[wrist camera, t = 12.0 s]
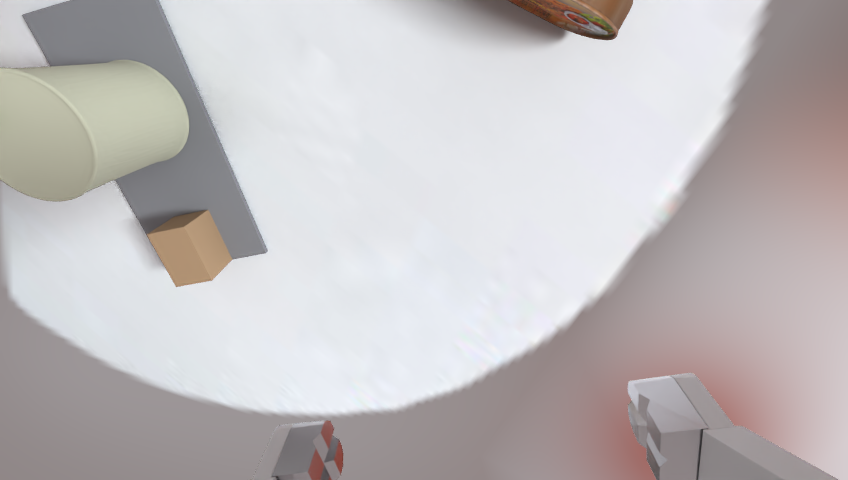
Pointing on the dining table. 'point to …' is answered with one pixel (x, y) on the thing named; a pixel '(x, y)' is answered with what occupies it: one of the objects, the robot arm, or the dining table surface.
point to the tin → (581, 15)
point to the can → (85, 125)
